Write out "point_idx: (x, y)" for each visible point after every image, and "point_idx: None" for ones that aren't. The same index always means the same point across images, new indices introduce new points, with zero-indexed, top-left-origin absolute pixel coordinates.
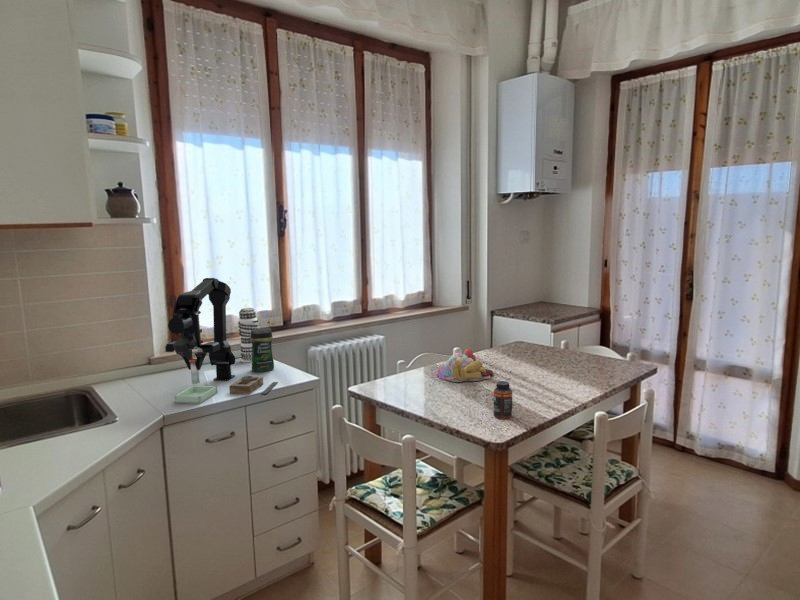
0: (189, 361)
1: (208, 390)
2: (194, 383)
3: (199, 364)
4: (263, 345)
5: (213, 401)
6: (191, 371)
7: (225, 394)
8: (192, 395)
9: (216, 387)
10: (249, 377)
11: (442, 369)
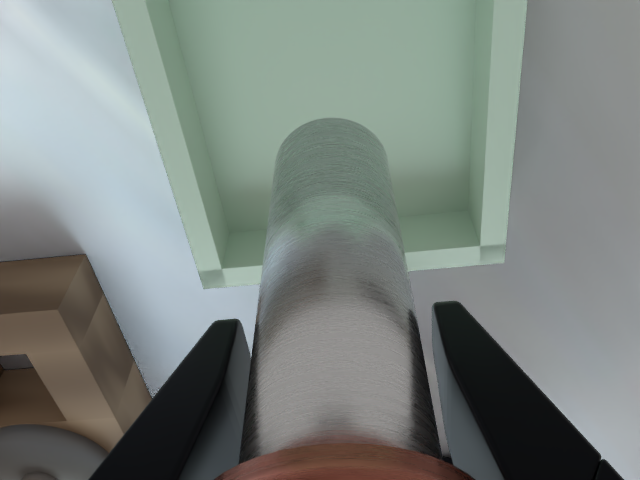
0: (395, 462)
1: (186, 158)
2: (313, 125)
3: (139, 429)
4: None
5: (28, 3)
6: (362, 252)
7: (102, 223)
8: (401, 93)
9: (201, 272)
10: (28, 473)
11: None
